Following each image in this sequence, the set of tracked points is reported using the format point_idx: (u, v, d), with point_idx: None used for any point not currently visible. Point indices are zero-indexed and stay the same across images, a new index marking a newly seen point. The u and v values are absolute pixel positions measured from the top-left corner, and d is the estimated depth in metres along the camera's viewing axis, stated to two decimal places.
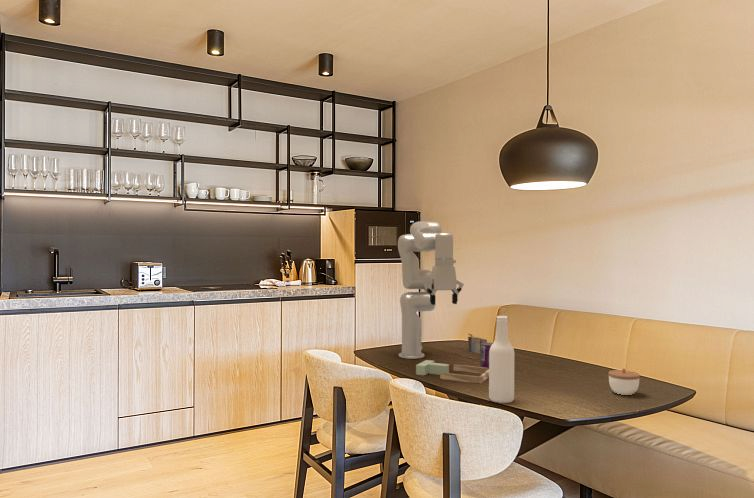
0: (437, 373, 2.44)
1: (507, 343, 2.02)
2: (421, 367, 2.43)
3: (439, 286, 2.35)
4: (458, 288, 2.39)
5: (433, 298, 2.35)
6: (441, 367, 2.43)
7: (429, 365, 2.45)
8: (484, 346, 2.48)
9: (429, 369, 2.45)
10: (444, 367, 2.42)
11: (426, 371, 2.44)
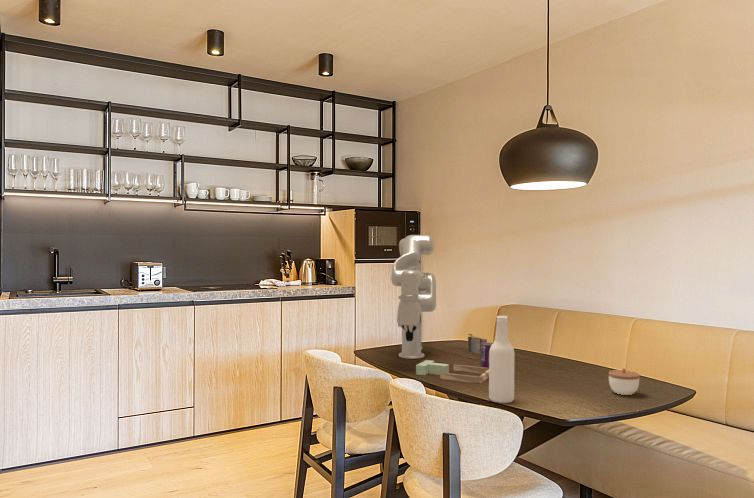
0: (437, 373, 2.44)
1: (507, 343, 2.02)
2: (421, 367, 2.43)
3: None
4: None
5: None
6: (441, 367, 2.43)
7: (429, 365, 2.45)
8: (484, 346, 2.48)
9: (429, 369, 2.45)
10: (444, 367, 2.42)
11: (426, 371, 2.44)
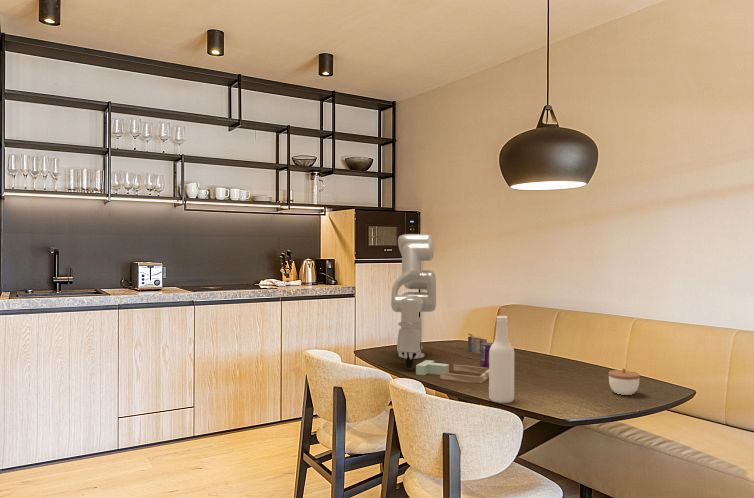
0: (437, 373, 2.44)
1: (507, 343, 2.02)
2: (421, 367, 2.43)
3: None
4: None
5: None
6: (441, 367, 2.43)
7: (429, 365, 2.45)
8: (484, 346, 2.48)
9: (429, 369, 2.45)
10: (444, 367, 2.42)
11: (426, 371, 2.44)
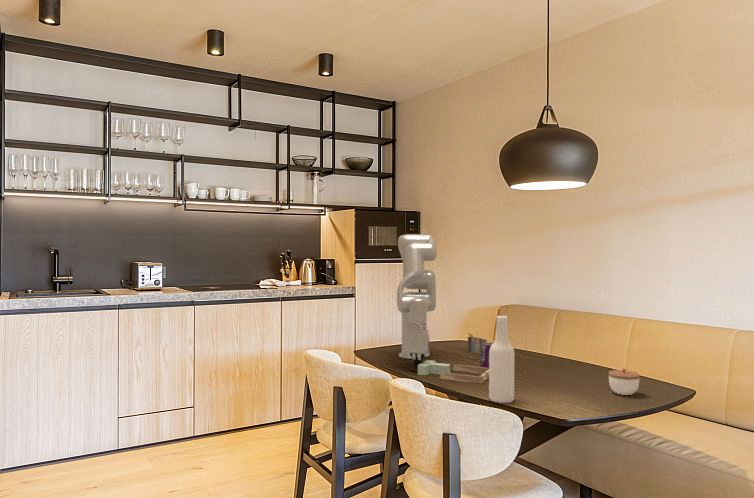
0: (439, 373, 2.44)
1: (507, 343, 2.02)
2: (423, 367, 2.42)
3: None
4: None
5: None
6: (443, 367, 2.43)
7: (431, 365, 2.45)
8: (484, 346, 2.48)
9: (431, 369, 2.45)
10: (446, 367, 2.42)
11: (428, 371, 2.43)
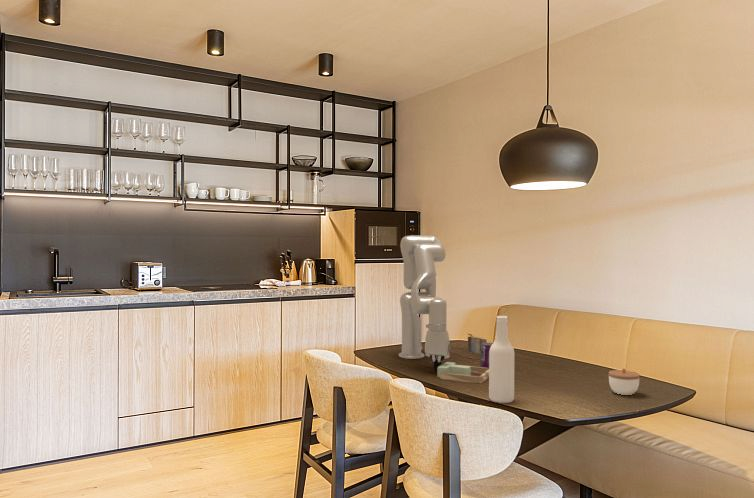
0: None
1: (507, 343, 2.02)
2: (443, 369, 2.38)
3: None
4: None
5: None
6: (463, 369, 2.39)
7: (451, 367, 2.41)
8: (484, 346, 2.48)
9: (451, 371, 2.41)
10: (466, 369, 2.38)
11: None
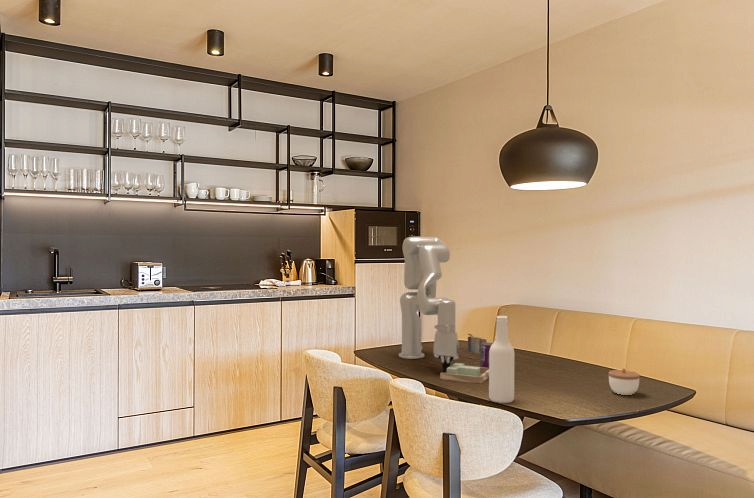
0: None
1: (507, 343, 2.02)
2: (452, 370, 2.37)
3: None
4: None
5: None
6: (472, 370, 2.37)
7: (460, 368, 2.39)
8: (484, 346, 2.48)
9: (460, 372, 2.39)
10: (475, 370, 2.36)
11: None
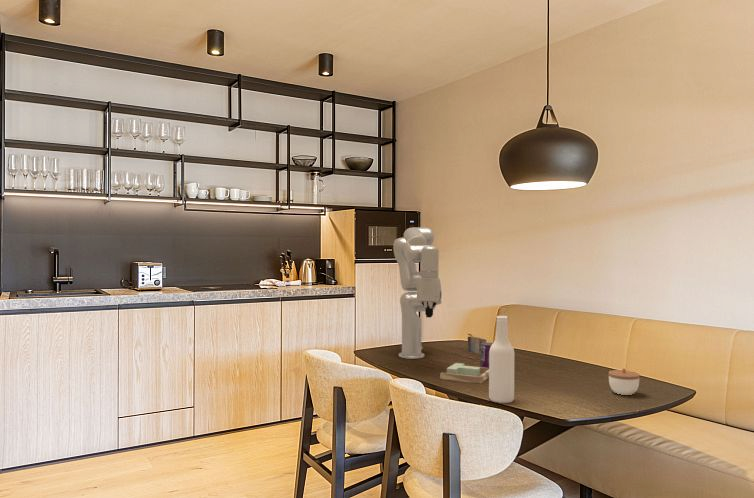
0: None
1: (507, 343, 2.02)
2: (452, 370, 2.37)
3: None
4: None
5: None
6: (472, 370, 2.37)
7: (460, 368, 2.39)
8: (484, 346, 2.48)
9: (460, 372, 2.39)
10: (476, 370, 2.36)
11: None
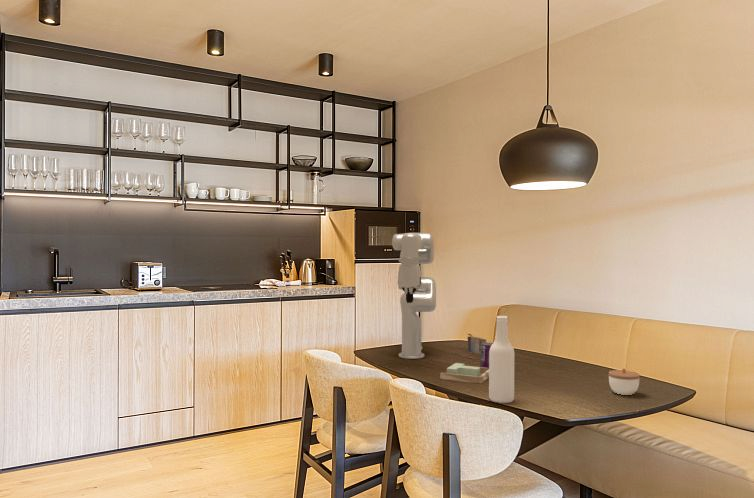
0: None
1: (507, 343, 2.02)
2: (452, 370, 2.37)
3: None
4: None
5: None
6: (472, 370, 2.37)
7: (460, 368, 2.39)
8: (484, 346, 2.48)
9: (460, 372, 2.39)
10: (476, 370, 2.36)
11: None
